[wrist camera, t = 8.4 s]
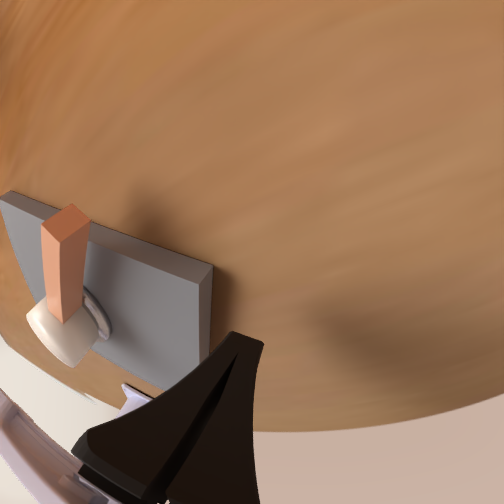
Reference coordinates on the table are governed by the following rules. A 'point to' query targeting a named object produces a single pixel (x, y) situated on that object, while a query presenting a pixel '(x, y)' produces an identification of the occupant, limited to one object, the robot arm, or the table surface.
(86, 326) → the handle
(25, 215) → the base plate
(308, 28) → the table surface
